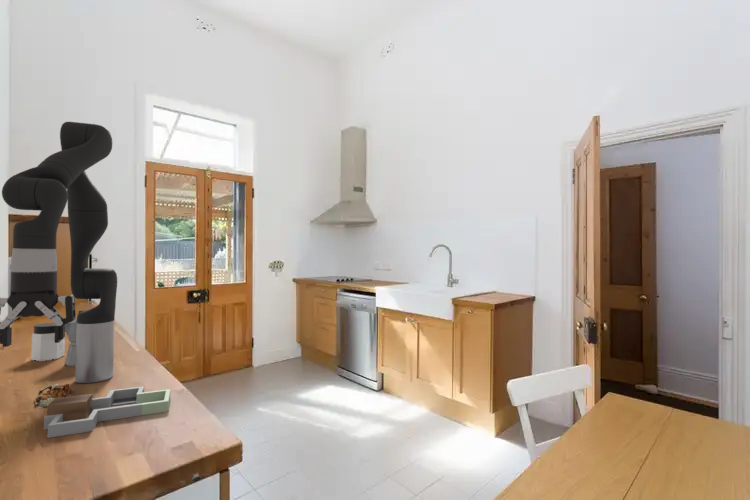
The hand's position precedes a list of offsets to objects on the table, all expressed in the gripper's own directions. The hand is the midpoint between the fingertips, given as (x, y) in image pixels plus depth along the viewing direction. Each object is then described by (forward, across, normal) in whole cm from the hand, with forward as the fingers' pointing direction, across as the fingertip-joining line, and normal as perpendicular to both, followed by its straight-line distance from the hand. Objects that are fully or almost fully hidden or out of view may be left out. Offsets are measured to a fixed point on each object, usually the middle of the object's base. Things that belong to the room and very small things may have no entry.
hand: (33, 344), depth 82 cm
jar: (+19, +14, -66) cm, 70 cm away
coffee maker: (+19, +1, -55) cm, 58 cm away
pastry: (+19, +1, -18) cm, 26 cm away
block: (+18, -6, -2) cm, 19 cm away
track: (+18, -15, -2) cm, 23 cm away
